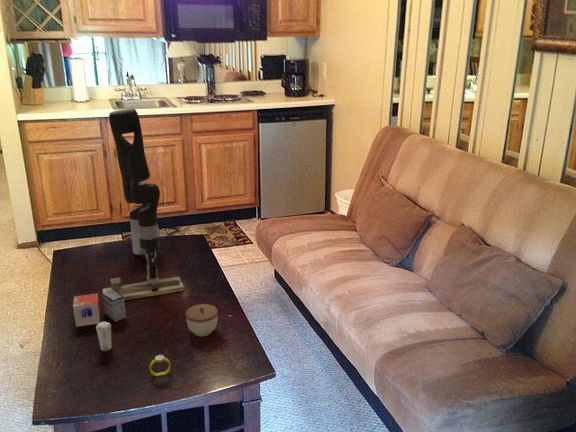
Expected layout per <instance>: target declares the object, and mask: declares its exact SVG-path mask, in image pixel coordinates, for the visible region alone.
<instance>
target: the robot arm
mask: <svg viewBox="0 0 576 432" xmlns="http://www.w3.org/2000/svg"><path fill="white" fill-rule="evenodd" d="M108 121H109V127H110V130H111V133H112V136H113V140H114V144H115V150H116V156H117V161H118V163H117V164H118V166H119V167H118V168H119V170H120V171H119V172H120V175H121V181H122V190H123V196H124V200H125V202H126V203H127V204H136V205H140V206H137V208H134V209H132V210H130V211H129V221H130V222H129V223H130V224H129V225H130V231H131V241H132V242H131V243H132V253H133V254H134V255H136V256H145V259H146V262H147V263H146V265H148V264H149V270H150V278H151V279H153V278H156V270H157V271H158V266H157V263H158V262H157V261H158V260H157V251H156V249H157V248H159V247H160V246H161V243H160V242H161V241H160V230H159V225H158V207H159V201H160V196H161V190H160V187H159V186H158V185H157V184H156V183H147V182H146V181H147V180H149V179H150V177H151V174H150V169H149V165H148V163H147V158H146V154H145V147H144V145H145V144H144V138H143V132H142V131H143V130H142V126H141V125H142V124H141V121H140V117H139V114H138V111H137V110H136V109H135V108H126V109H119V110H113V111H111V112H110V113H109V115H108ZM131 133H132V134H133V141H132V143H131V142H130V141H128V140H127V139H126V138H125V137H124V135H126V134H131ZM151 266H153V267H151Z"/></svg>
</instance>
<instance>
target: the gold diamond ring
mask: <svg viewBox="0 0 576 432" xmlns="http://www.w3.org/2000/svg"><path fill="white" fill-rule="evenodd" d="M162 362H166V363H168V368H167V369H166V370H165V371H161V372H160V371H159V372H155V371H153V370H152V367H153V365H154V364H155V363H162ZM171 367H172V366H171V361H170V359H168V358H167V357H165V355H163V354H157V355H156V356H155V357H154V359H152V360H151V361H150V364H149V372H150V374H151V375H152V376H153V377H160V376H166V375H167V374H169V372H170V371H171Z"/></svg>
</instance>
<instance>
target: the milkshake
mask: <svg viewBox="0 0 576 432" xmlns="http://www.w3.org/2000/svg"><path fill="white" fill-rule="evenodd" d="M95 329H96V334H97V337H98V342H99V347H100V350H101V351H103V352H108V351H110V350H111V349H112V324H111V323H110V322H107V321H100V323H98V324H96V326H95Z"/></svg>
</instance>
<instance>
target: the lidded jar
mask: <svg viewBox="0 0 576 432" xmlns="http://www.w3.org/2000/svg"><path fill="white" fill-rule="evenodd" d="M218 315H219V311H218V308H217V307H216V306H215V305H212V304H209V303H208V304H207V303H200V304H195V305H192V306H191V307H188V308H187V310H186V311H185V318H186V324H187V327H188V329H189V330H190V332H191V333H193V334H194V335H195V336H197V337H206V336H209V335H211V334H212V332H213V331H215V329H216V327H217V324H218V320H219V318H218Z"/></svg>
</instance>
